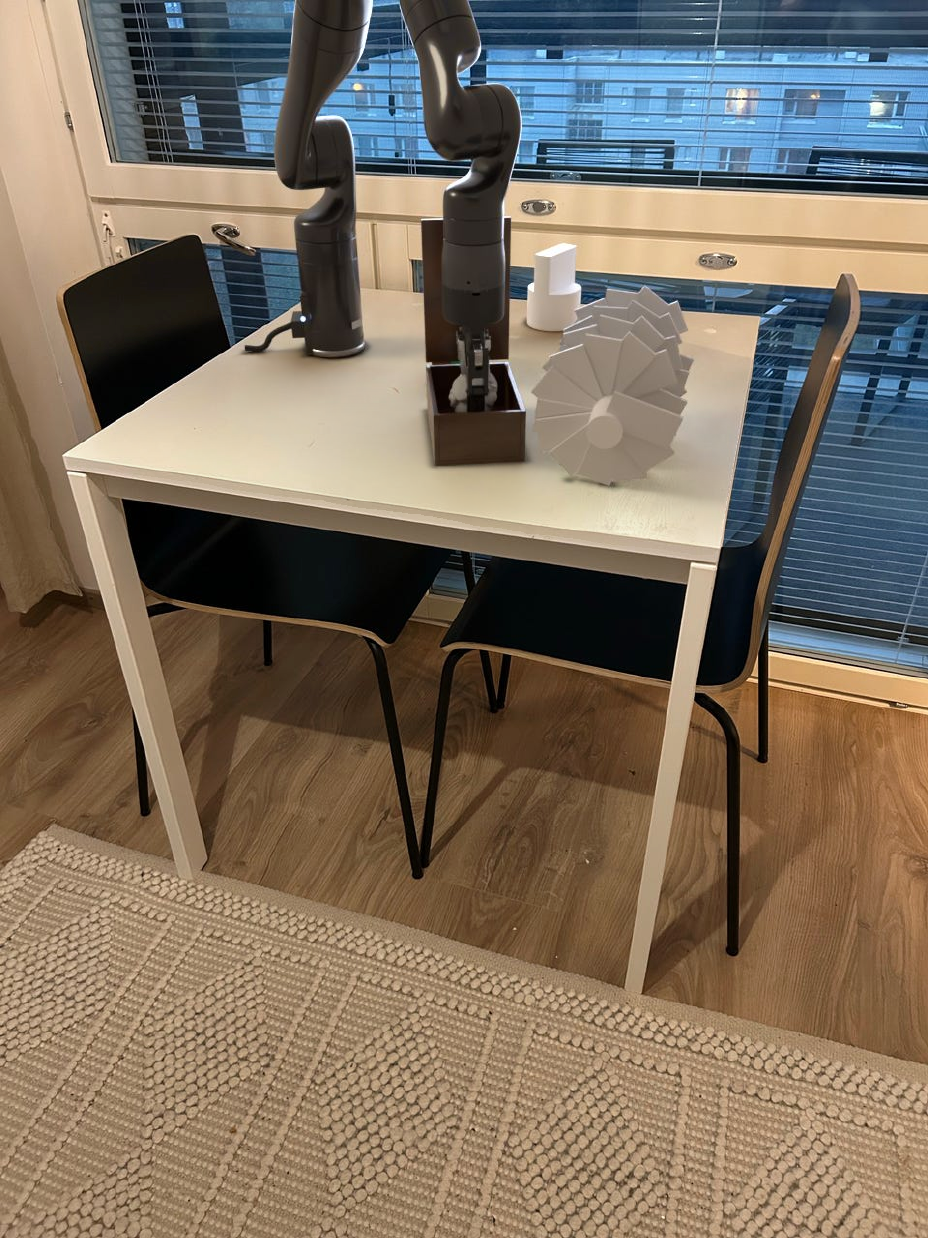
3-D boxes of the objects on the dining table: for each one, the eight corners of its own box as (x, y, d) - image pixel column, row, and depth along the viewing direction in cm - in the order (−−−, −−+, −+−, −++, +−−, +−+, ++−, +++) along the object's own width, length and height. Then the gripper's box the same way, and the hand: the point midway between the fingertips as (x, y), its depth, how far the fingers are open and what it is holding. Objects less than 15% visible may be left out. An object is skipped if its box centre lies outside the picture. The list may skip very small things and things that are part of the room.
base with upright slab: (544, 311, 166) (547, 240, 159) (588, 320, 161) (593, 247, 154) (516, 324, 160) (518, 251, 153) (561, 334, 155) (565, 259, 148)
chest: (524, 461, 116) (526, 411, 112) (434, 465, 115) (433, 415, 112) (507, 407, 130) (508, 361, 126) (427, 411, 129) (425, 364, 126)
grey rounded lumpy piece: (506, 416, 122) (507, 364, 118) (479, 436, 117) (480, 382, 113) (466, 407, 125) (466, 356, 120) (438, 425, 120) (437, 373, 116)
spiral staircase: (560, 519, 112) (588, 426, 131) (704, 476, 104) (712, 384, 123) (496, 385, 103) (536, 306, 122) (647, 327, 96) (665, 253, 115)
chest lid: (511, 217, 115) (506, 209, 119) (421, 220, 115) (419, 211, 118) (508, 359, 126) (504, 347, 129) (425, 362, 125) (424, 351, 129)
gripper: (437, 262, 116) (440, 390, 126) (446, 297, 104) (448, 435, 114) (497, 260, 116) (495, 388, 126) (512, 295, 105) (508, 433, 114)
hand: (473, 410), depth 120 cm, fingers closed on grey rounded lumpy piece, 6 cm apart
